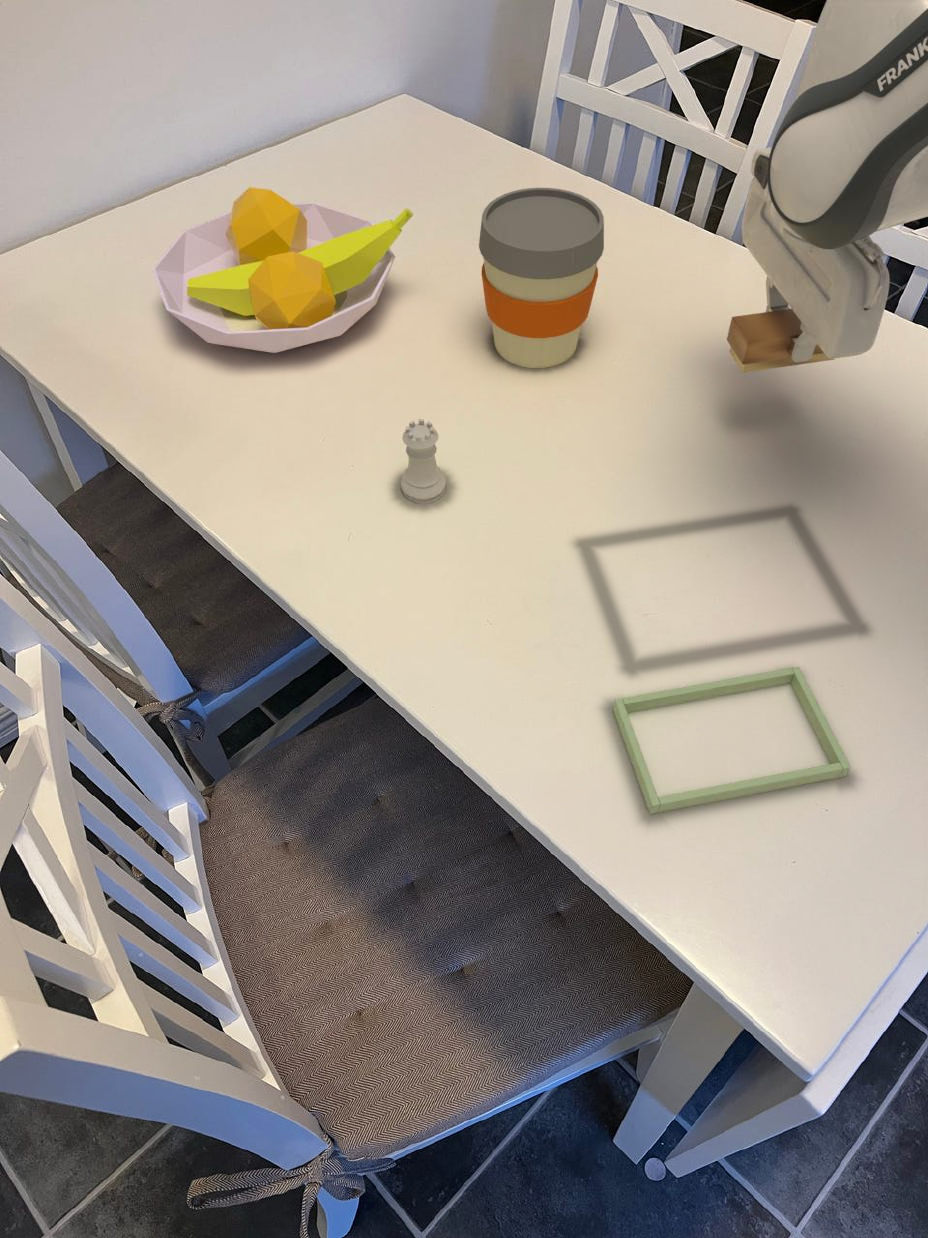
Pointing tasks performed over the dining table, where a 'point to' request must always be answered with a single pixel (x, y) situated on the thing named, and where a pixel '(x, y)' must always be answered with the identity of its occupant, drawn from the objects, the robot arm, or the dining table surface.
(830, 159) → the robot arm
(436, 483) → the rook chess piece
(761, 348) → the tan wooden brick
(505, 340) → the reusable coffee cup
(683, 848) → the dining table surface
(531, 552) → the dining table surface
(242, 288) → the fruit bowl
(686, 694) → the rectangular frame
